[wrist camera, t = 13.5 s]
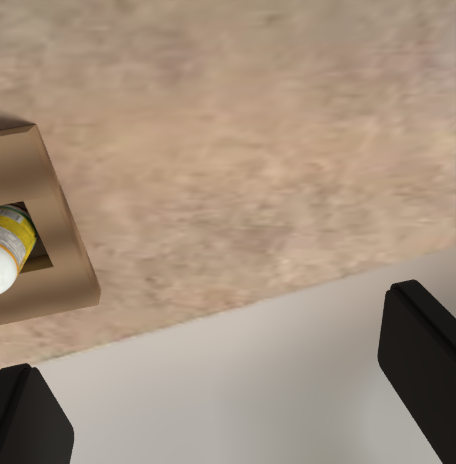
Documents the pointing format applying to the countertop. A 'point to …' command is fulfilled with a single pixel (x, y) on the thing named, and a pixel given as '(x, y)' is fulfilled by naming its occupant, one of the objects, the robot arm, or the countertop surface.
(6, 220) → the supplement bottle
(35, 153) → the frame
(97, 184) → the countertop surface
